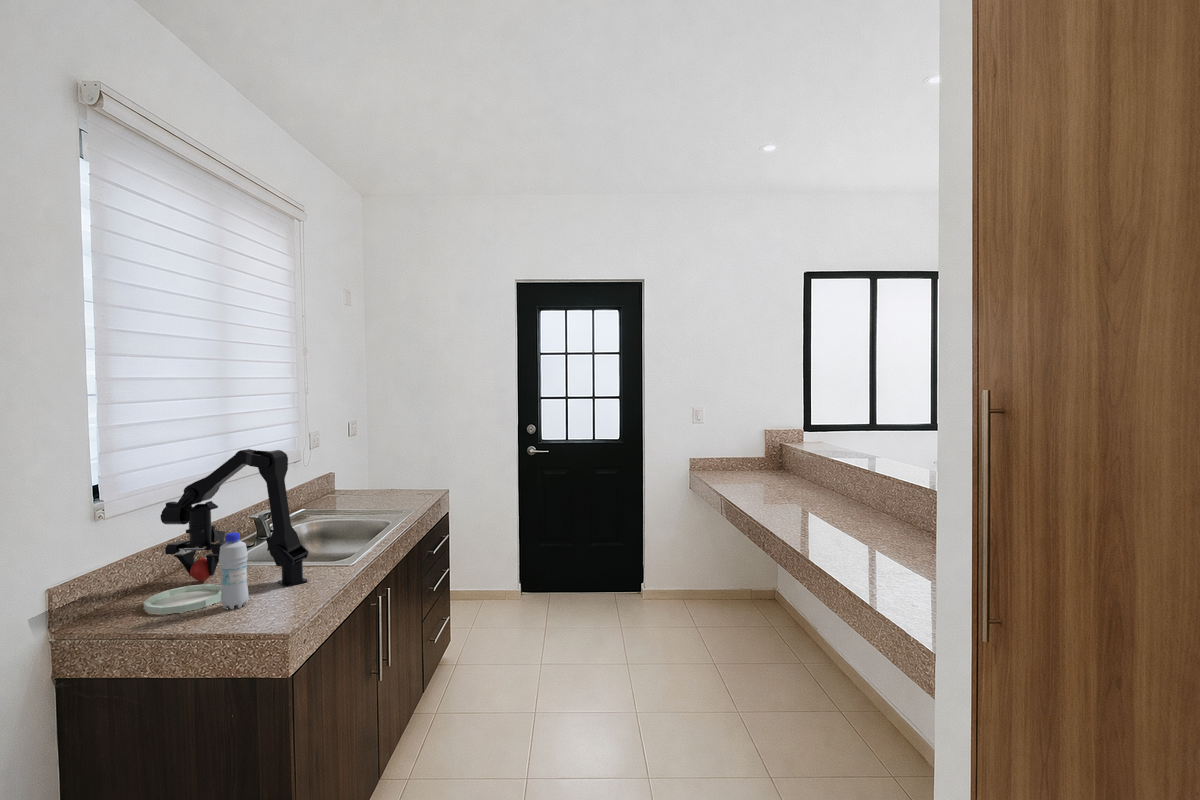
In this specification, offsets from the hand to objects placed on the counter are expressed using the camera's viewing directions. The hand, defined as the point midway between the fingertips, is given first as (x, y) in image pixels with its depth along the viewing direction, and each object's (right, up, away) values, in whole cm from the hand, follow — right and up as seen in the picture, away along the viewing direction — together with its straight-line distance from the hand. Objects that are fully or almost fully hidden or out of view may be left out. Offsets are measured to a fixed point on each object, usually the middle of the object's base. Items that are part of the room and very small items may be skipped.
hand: (202, 575), depth 185 cm
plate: (+7, -2, -17) cm, 19 cm away
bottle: (+23, -3, -21) cm, 31 cm away
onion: (0, -2, 0) cm, 2 cm away
